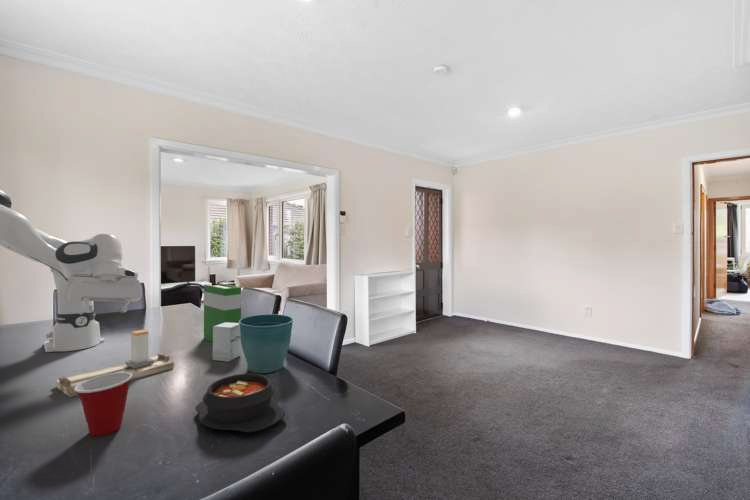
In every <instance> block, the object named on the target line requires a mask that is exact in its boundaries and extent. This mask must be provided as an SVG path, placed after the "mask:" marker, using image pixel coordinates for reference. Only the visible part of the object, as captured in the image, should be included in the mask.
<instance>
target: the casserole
mask: <svg viewBox="0 0 750 500" xmlns="http://www.w3.org/2000/svg"><path fill="white" fill-rule="evenodd" d="M275 391H276V389H275V385H273V383H272V381H271V378H269V377H267V376H265V375H264V374H263V375H262V374H259V373H242V374H241V373H240V374H239V373H238V374H234V375H230V376H226V377H223V378H220V379H217V380H216V381H213V382H212V383H211V384H210V385H209V386H208V388H207V390H206V392H205V393H204V394H203V397H202V401H200V402H199V403H197V404H196V406H195V411H196V412H197V413H198V419H199V422H200V423H201V424H202V425H204V426H205V427H208V428H210V429H214V430H215V429H216V430H219V431H220V430H224V431H225V430H226V431H237V432H244V433H253V432H258V431H261V430H265V429H267V428H269V427H271V426H273V425H275V424H277V423H278V422H280V421H281V420H282V419H283V418H284V417H285V415H286V411H285V410H284V409H283V408H282V407H281V406H280V405H279V403H278V402H277V399H275V398H274V397H273V395H274V393H275Z"/></svg>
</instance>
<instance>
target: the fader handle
mask: <svg viewBox="0 0 750 500" xmlns="http://www.w3.org/2000/svg"><path fill="white" fill-rule="evenodd" d="M130 333H131V334H130V335H131V336H130V337H131V338H130V339H131V341H130V345H131V346H130V351H131V352H130V353H131V355H130V357H131V358H130V360H125V363H126V365H127V366H129V367H131V368H133V369H135V368H138V367H142V366H146V365H150V364H154V360H153V359H150V358H148V357H149V331H148V330H146V329H140V330H134V331H131V332H130Z"/></svg>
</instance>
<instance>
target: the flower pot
mask: <svg viewBox="0 0 750 500" xmlns="http://www.w3.org/2000/svg"><path fill="white" fill-rule="evenodd" d="M293 323H294V318H293V317H292V316H289V315H285V314H276V313H274V314H272V313H271V314H269V313H267V314H263V313H262V314H255V315H250V316H245V317H243V318H242V317H241V320H239V324H240V335H241V351H242V354H243V356H244V357H245V362H246V364H247V365H246V367H247V370H248V371H249V372H251V373H253V374H268V373H269V374H271V373H274V371H275V372H278V371H279V369H280V370H281V369H282V368H283V367H284V362H285V359H286V356H287V353H288V351H289V348H290V344H291V339H292V329H293Z"/></svg>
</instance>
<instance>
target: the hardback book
mask: <svg viewBox="0 0 750 500" xmlns="http://www.w3.org/2000/svg"><path fill="white" fill-rule="evenodd" d="M241 319H242V287H241V286H237V285H231V284H226V283H225V284H224V283H220V282H219V283H217V284H216V285H209V284H203V339H204V338H205V340H207V339H208V340H207V341H209V340H210V342H212V341H213V326H216V325H219V324H222V323H224V322H228V323H239V320H241Z"/></svg>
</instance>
